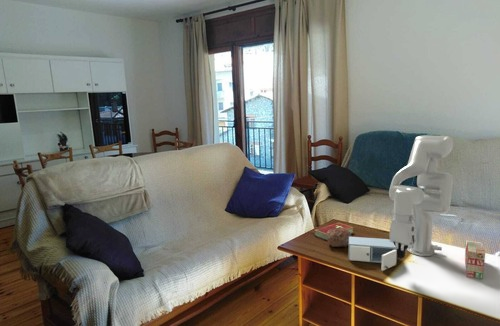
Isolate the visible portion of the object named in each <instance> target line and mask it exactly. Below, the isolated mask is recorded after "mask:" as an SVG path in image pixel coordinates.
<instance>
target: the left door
mask: <svg viewBox="0 0 500 326" xmlns="http://www.w3.org/2000/svg"><path fill="white" fill-rule="evenodd" d="M397 260H398V258H397V249H396V248H395V250H393V251H390V252H388V253H386V254H383V255H382V263H380V264H381V266H380V267H381V269H380V270H381V271H383V272H384V271H385V270H388V269H390V268H392V267H394V266H397V262H398V261H397Z"/></svg>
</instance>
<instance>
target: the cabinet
mask: <svg viewBox="0 0 500 326" xmlns="http://www.w3.org/2000/svg"><path fill="white" fill-rule="evenodd" d="M395 248H396V246H395V245H394V243H392V242H390V238H389V239H388V238H378V237H377V238H375V237H361V236H352V237H349V243H348V261H354V262H364V263H365V262H366V263H377V264H378V263H379V264H382V255H383V254H386V253H388V252H390V251H393V250H395Z"/></svg>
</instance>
